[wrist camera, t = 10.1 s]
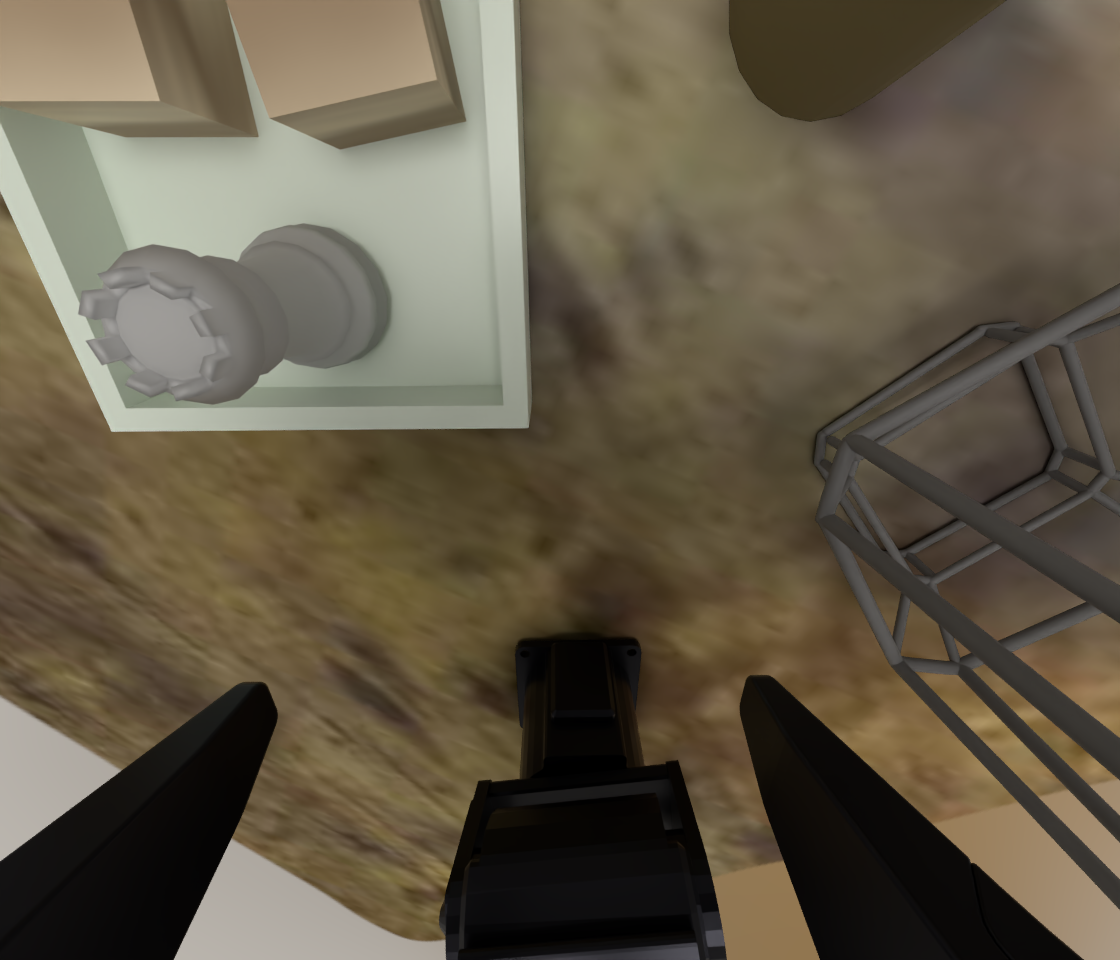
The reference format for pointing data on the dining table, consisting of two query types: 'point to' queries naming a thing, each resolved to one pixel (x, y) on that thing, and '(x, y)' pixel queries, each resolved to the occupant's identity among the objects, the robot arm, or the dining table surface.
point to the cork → (839, 47)
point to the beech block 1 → (126, 66)
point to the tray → (323, 200)
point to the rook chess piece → (236, 312)
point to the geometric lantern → (1003, 533)
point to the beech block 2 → (351, 66)
